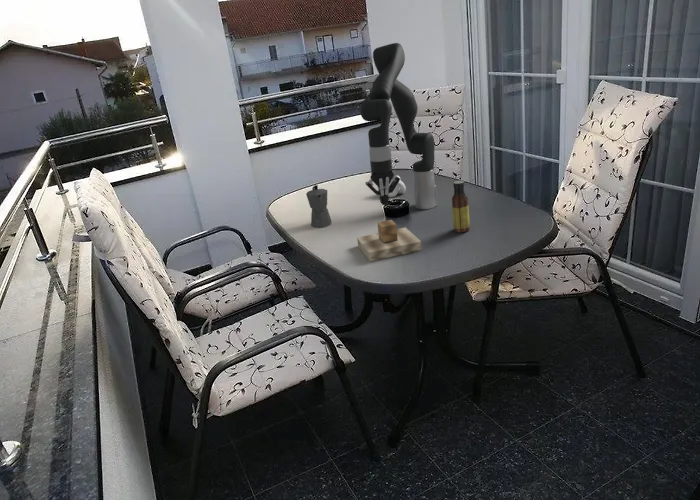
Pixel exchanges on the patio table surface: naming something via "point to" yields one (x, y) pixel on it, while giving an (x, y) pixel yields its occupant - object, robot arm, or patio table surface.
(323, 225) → the coffeepot
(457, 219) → the sauce bottle
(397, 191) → the white knot
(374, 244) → the birch board
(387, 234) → the oak peg
